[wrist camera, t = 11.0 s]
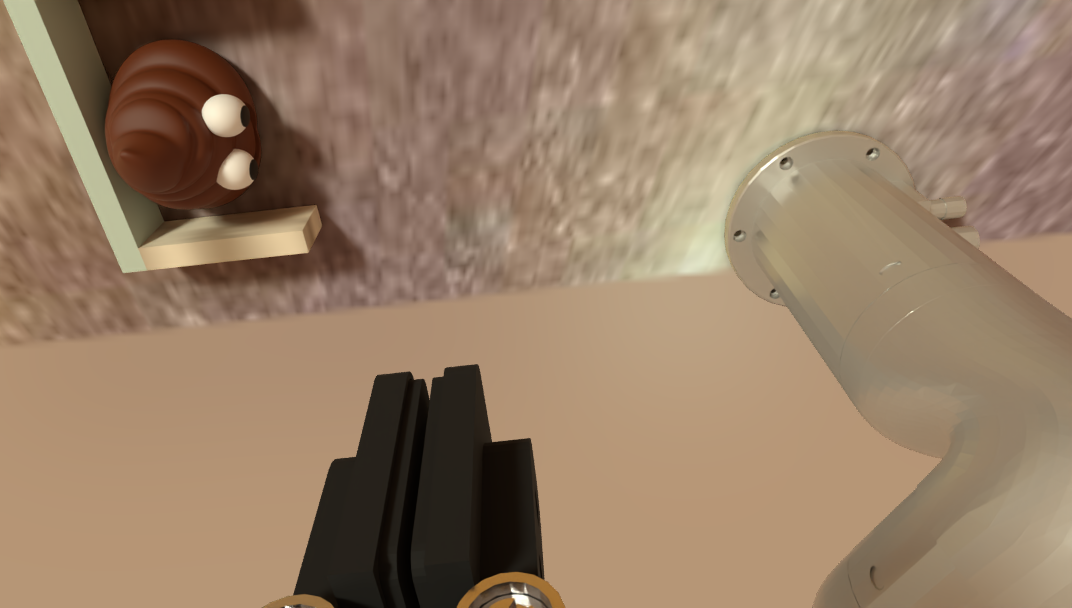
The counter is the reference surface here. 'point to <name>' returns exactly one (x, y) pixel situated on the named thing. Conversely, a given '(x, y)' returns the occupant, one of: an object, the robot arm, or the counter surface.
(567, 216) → the counter surface
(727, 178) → the counter surface
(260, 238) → the seating channel
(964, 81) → the counter surface
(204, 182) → the poop emoji
